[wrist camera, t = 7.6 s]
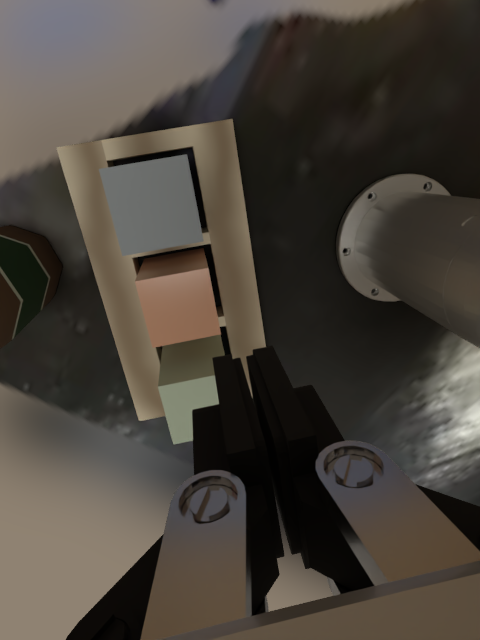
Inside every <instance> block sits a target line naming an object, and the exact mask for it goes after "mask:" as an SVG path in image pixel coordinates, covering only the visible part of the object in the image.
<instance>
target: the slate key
mask: <svg viewBox="0 0 480 640" xmlns="http://www.w3.org/2000/svg"><path fill="white" fill-rule="evenodd" d="M99 172H100V176H101V179H102V183H103V187H104V190H105V194H106V198H107V202H108V205H109V209H110V213H111V216H112V220H113V224H114V227H115V231H116V235H117V238H118V242H119V246H120V249H121V253H122V256H126V255H132V254H137V253H143V252H148V251H154V250H159V249H165V248H170V247H176V246H181V245H187V244H192V243H197V242H203V241H204V240H203V235H202V230H201V225H200V220H199V214H198V209H197V204H196V199H195V193H194V188H193V183H192V178H191V172H190V167H189V162H188V157H187V154H186V155H180V156H174V157H168V158H162V159H156V160H150V161H144V162H138V163H132V164H126V165H120V166H114V167H108V168H102V169H99Z"/></svg>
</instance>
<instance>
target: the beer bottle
mask: <svg viewBox="0 0 480 640" xmlns="http://www.w3.org/2000/svg"><path fill="white" fill-rule="evenodd" d="M62 267H63V265H62V264H61V262H60V261H59V259H58V257H57V256H56V254H55V253H54V251H53V249H52V248H51V246H50V245H49V243H48V241H47V240H46V238H45V237H43V236H40V235H38V234H35V233H32V232H29V231H26V230H23V229H20V228H17V227H14V226H11V225H9V226H4V227H0V349H1V348H2V347H3V346H5V345H6V344H7V343H8V342H10V341H11V340H12V339H13V338H14V337H15V336H16V335H17V334H18V333H19V332H20V331H21V330H22V329H23V328H24V327H25V326H26V325H27V324H28V323H29V322H30V321H31V320H32V319H33V318H34V317H35V316H36V315H37V314H38V313H39V312H40V311H41V310H42V309H43V308H44V307H45V306H46V305H47V304H48V303H49V302H50V301H51V299H52V298H53V297H54V295H55V293H56V289H57V286H58V282H59V278H60V274H61V271H62Z"/></svg>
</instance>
